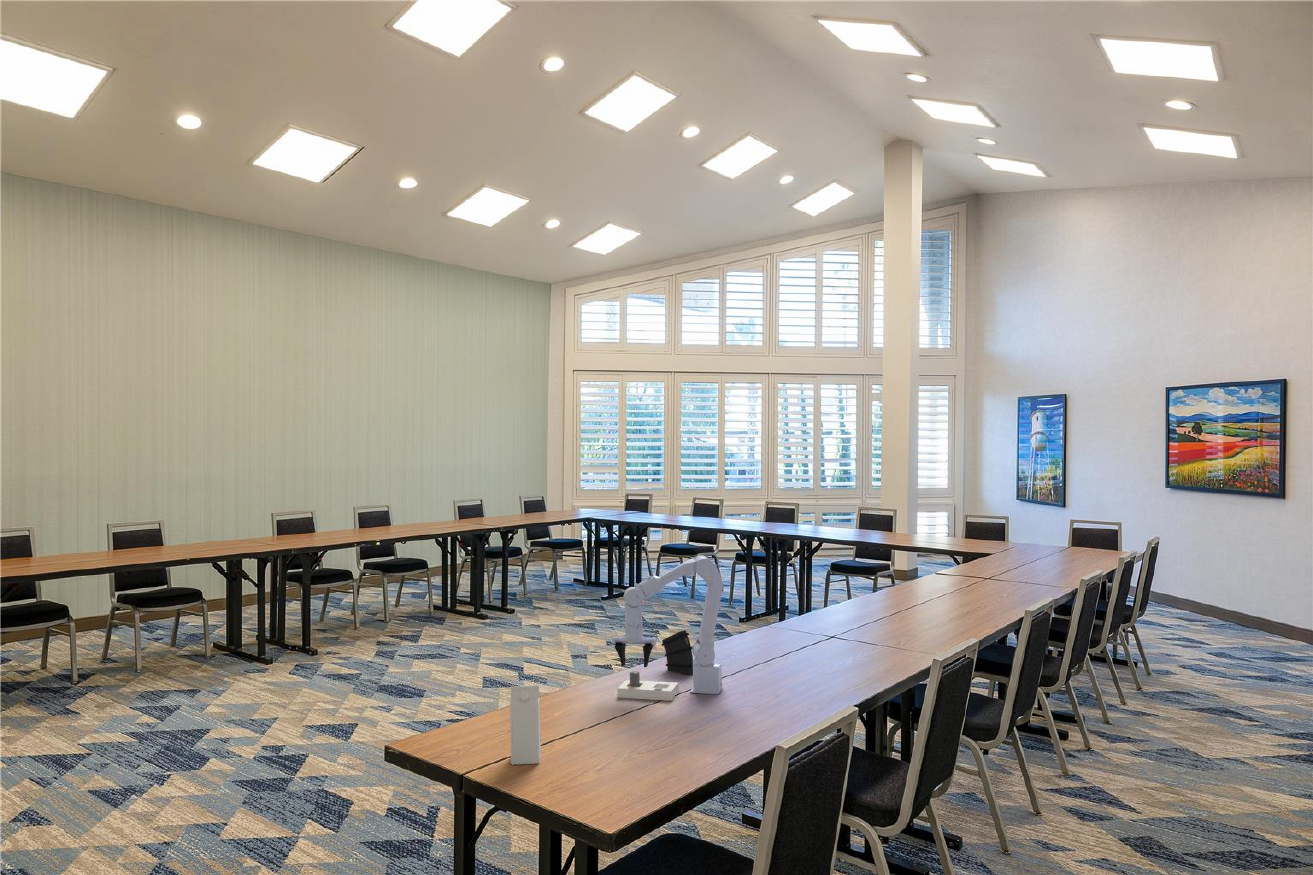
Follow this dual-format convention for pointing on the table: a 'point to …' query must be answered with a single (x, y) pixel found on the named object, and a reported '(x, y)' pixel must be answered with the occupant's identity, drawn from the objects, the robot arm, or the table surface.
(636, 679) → the plug
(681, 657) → the magazine
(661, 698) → the socket box
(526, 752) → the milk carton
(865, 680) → the table surface
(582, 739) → the table surface
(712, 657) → the robot arm
